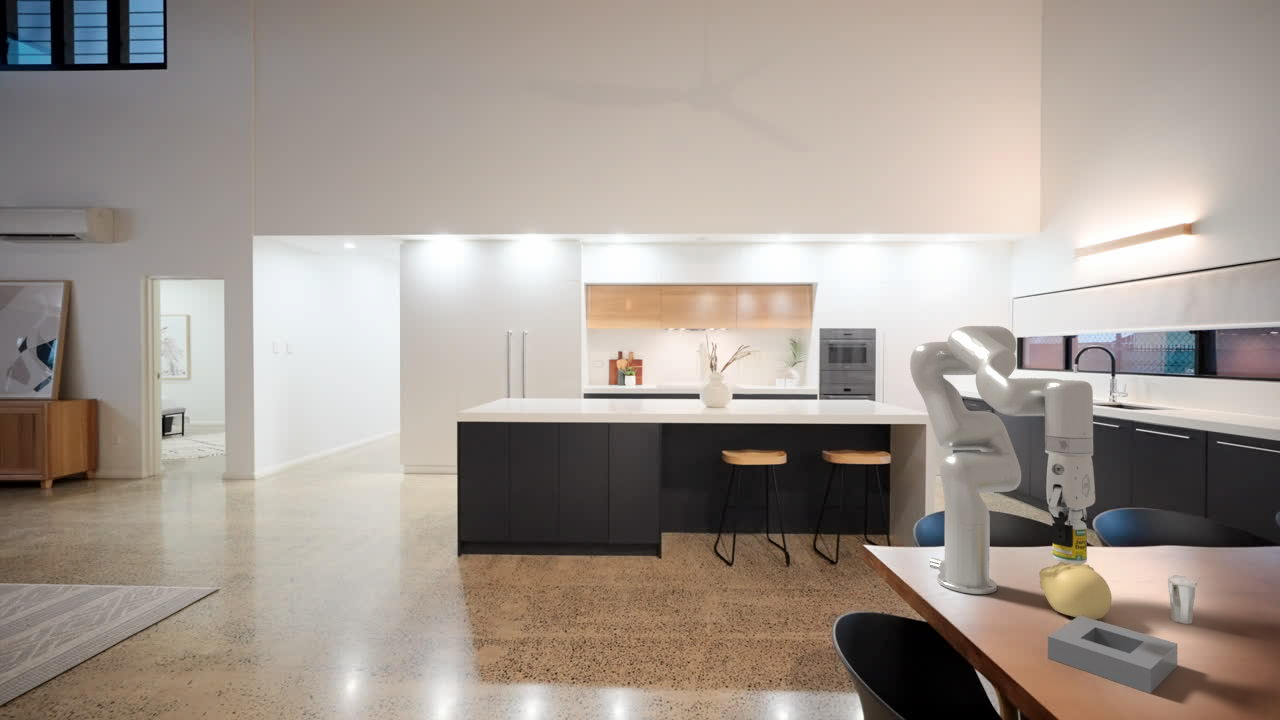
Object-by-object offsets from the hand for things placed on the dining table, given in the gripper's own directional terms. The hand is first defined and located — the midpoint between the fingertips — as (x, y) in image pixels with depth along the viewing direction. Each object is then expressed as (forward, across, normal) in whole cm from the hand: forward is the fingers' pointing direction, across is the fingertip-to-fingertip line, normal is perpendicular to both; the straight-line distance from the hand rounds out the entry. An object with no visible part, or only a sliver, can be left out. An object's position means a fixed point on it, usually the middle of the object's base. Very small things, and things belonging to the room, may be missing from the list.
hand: (1069, 541), depth 119 cm
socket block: (+20, 0, -6) cm, 21 cm away
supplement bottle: (+4, 0, 0) cm, 4 cm away
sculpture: (+20, +19, +6) cm, 28 cm away
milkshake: (+20, +32, -9) cm, 39 cm away
